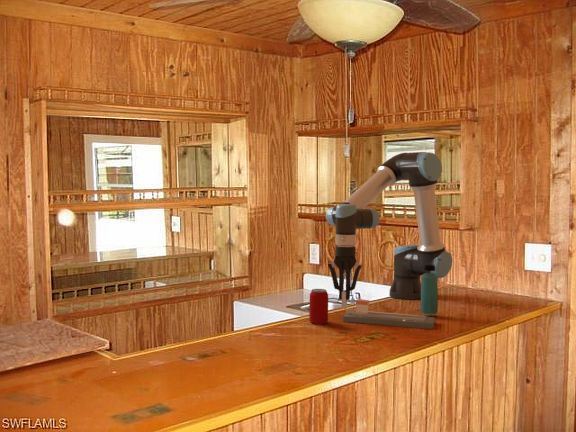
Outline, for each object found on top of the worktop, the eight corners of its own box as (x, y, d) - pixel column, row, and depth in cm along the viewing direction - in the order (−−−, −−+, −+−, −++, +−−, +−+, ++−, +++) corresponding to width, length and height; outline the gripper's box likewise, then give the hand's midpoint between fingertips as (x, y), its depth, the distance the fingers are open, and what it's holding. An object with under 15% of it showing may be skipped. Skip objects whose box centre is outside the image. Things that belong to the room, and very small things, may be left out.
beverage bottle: (439, 318, 231) (440, 266, 230) (421, 318, 231) (423, 265, 230) (435, 314, 238) (436, 263, 237) (418, 314, 238) (419, 263, 237)
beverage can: (328, 320, 225) (328, 288, 225) (327, 325, 219) (328, 292, 218) (309, 320, 226) (310, 288, 225) (308, 324, 219) (309, 291, 219)
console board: (348, 315, 234) (349, 308, 234) (434, 322, 224) (434, 315, 224) (343, 321, 225) (343, 314, 224) (432, 329, 215) (432, 321, 215)
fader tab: (357, 312, 230) (357, 299, 229) (368, 313, 228) (369, 300, 228) (355, 314, 226) (355, 300, 226) (367, 315, 225) (367, 301, 225)
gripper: (325, 245, 226) (324, 308, 228) (360, 247, 222) (359, 311, 224) (330, 243, 233) (329, 304, 235) (364, 245, 229) (363, 307, 231)
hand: (344, 308), depth 229 cm, fingers closed
